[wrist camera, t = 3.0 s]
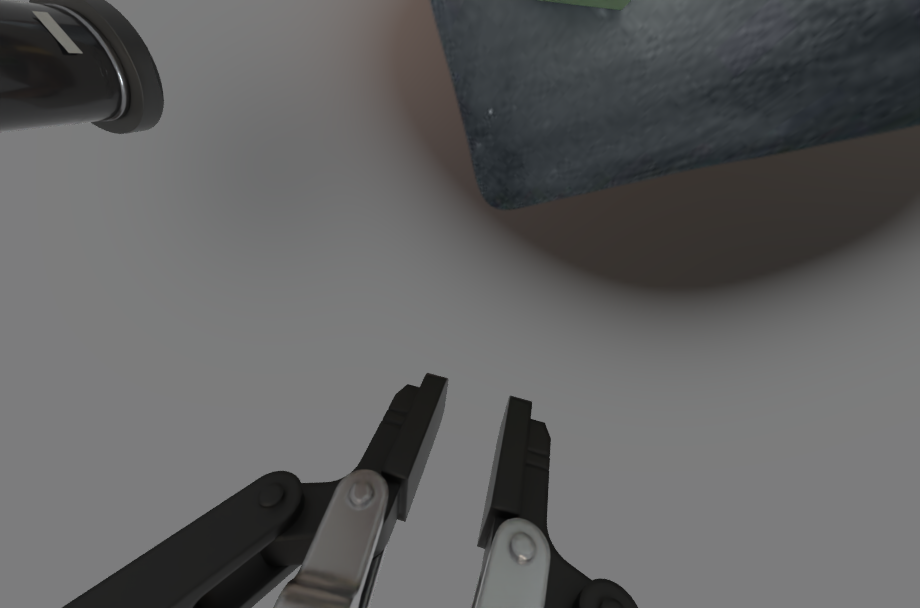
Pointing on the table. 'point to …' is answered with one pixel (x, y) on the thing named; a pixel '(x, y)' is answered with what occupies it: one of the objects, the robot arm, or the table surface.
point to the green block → (595, 3)
